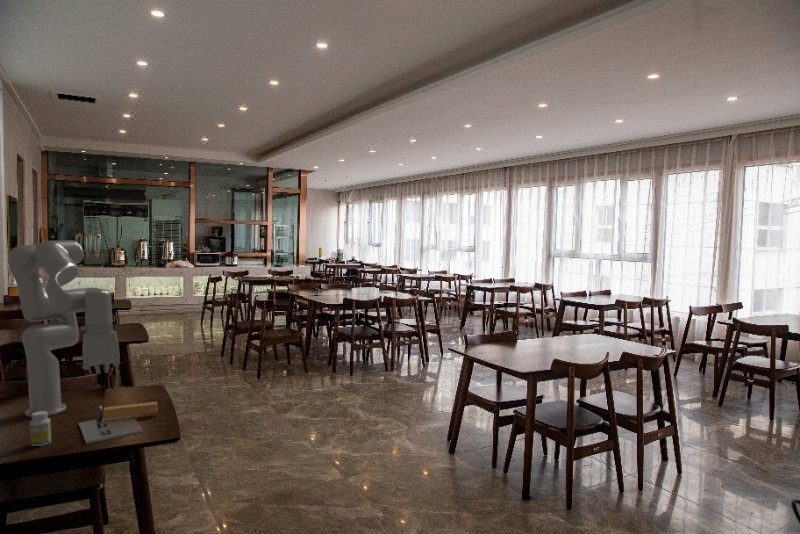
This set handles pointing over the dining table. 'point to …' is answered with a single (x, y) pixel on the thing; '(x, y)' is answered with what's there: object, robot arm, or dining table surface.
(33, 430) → the supplement bottle
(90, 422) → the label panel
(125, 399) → the dining table surface
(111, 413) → the swing bar
